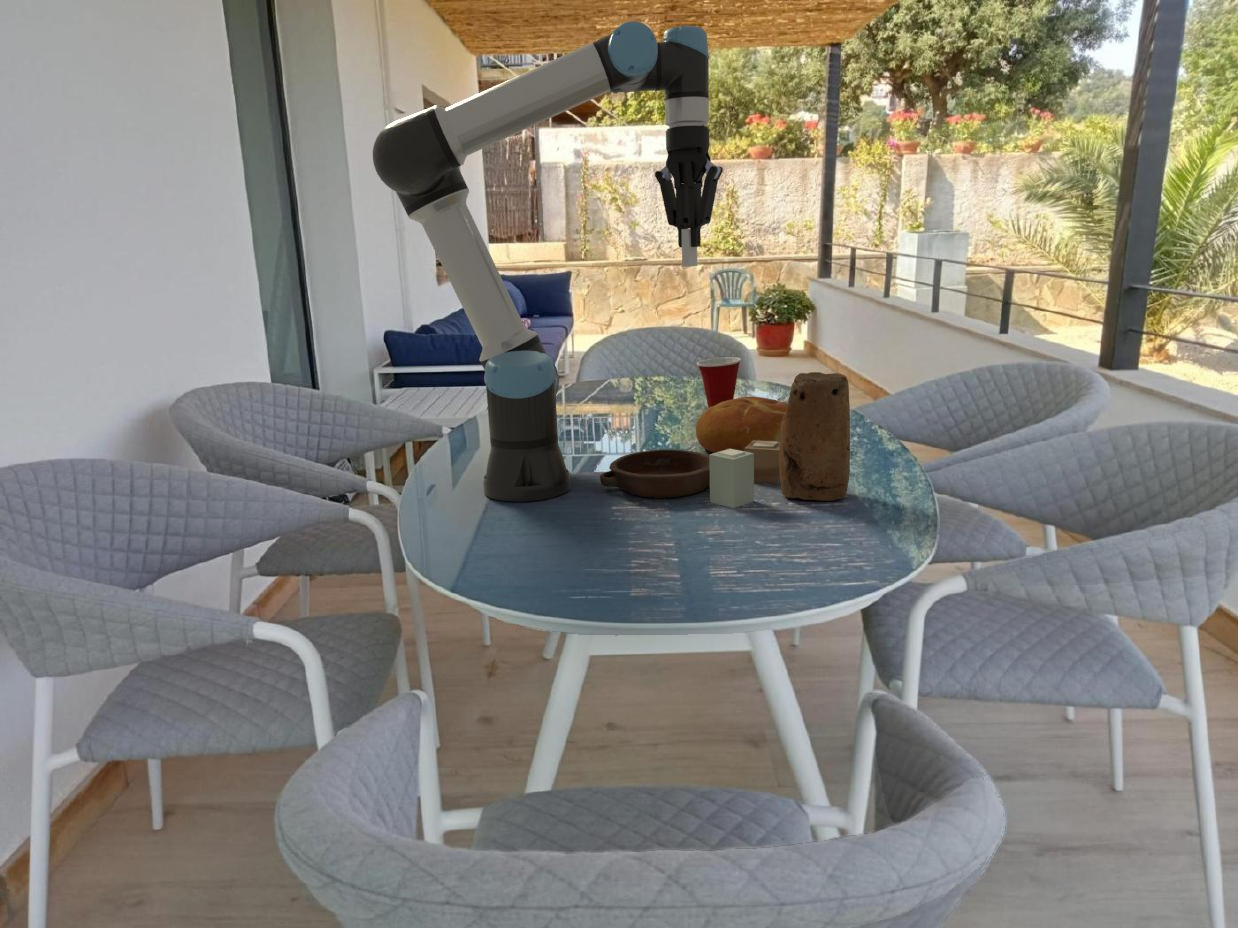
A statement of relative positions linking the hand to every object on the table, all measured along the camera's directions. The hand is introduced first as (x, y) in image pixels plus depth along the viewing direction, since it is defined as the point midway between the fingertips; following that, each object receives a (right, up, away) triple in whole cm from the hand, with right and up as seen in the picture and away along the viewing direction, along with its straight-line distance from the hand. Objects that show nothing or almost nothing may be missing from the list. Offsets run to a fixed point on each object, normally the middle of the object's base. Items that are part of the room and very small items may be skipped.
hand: (689, 266), depth 157 cm
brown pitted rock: (+19, -41, -15) cm, 48 cm away
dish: (-5, -40, -6) cm, 41 cm away
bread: (+14, -33, +18) cm, 40 cm away
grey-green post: (+6, -42, -16) cm, 45 cm away
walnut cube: (+13, -38, -3) cm, 40 cm away
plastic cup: (+12, -22, +58) cm, 63 cm away
